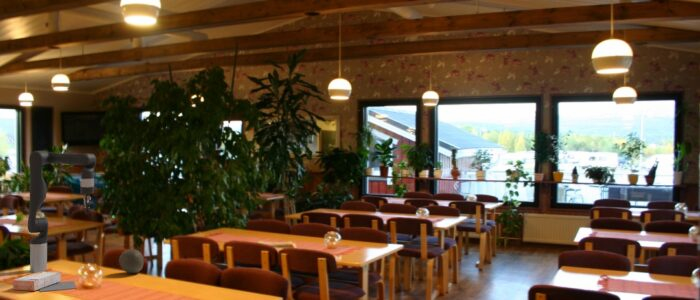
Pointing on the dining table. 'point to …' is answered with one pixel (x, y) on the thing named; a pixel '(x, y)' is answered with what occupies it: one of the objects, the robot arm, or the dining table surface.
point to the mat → (59, 286)
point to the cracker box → (36, 280)
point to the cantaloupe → (131, 261)
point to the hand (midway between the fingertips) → (87, 214)
